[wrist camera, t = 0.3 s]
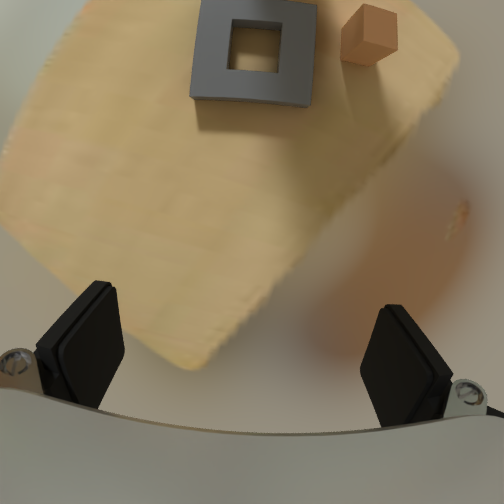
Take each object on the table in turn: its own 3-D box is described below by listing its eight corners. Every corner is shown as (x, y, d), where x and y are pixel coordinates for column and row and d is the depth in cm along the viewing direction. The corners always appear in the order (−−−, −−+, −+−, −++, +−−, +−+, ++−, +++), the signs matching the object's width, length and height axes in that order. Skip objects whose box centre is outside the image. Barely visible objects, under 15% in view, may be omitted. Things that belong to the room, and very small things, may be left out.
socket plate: (205, 5, 30) (202, -4, 27) (312, 13, 30) (317, 5, 27) (194, 99, 34) (189, 96, 32) (306, 108, 35) (310, 105, 32)
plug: (341, 28, 31) (363, 3, 22) (369, 35, 31) (396, 13, 22) (340, 60, 32) (363, 40, 24) (368, 66, 32) (397, 50, 24)
